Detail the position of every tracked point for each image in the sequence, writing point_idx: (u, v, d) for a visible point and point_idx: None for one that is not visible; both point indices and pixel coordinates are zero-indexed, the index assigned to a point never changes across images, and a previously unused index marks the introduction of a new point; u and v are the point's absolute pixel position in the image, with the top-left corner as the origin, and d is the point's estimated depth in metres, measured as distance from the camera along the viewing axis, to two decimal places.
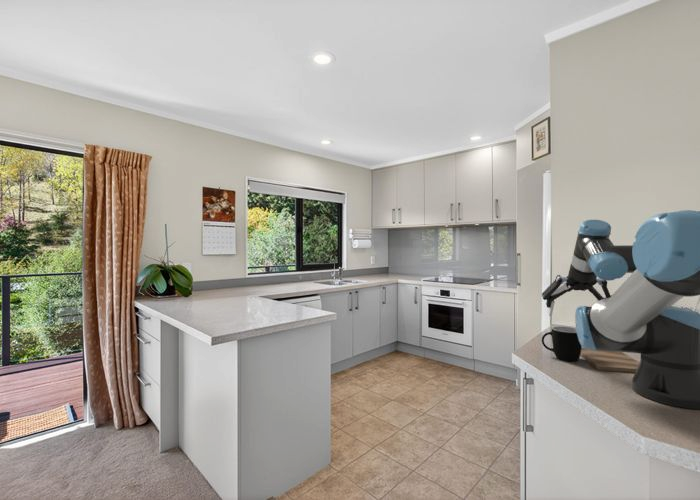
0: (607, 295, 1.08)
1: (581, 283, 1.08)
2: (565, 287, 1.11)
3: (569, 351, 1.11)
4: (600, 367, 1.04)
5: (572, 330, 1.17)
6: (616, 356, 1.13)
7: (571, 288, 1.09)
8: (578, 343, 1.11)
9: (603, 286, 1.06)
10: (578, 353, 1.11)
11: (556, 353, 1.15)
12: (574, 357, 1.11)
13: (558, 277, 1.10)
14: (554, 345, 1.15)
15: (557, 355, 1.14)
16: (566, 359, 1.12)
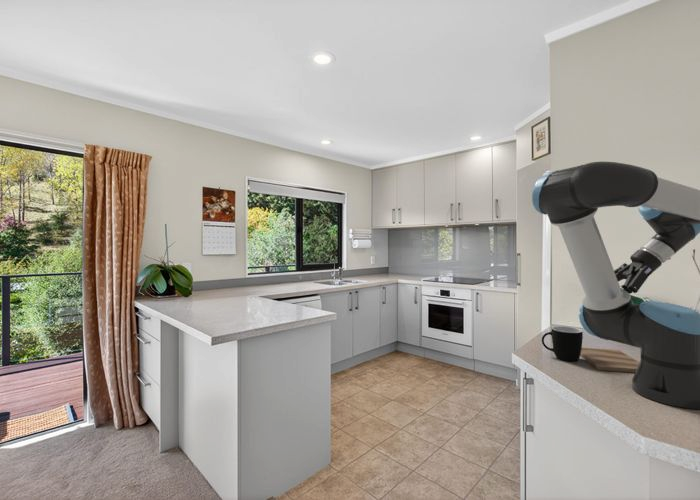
0: (633, 279, 1.03)
1: None
2: None
3: (569, 351, 1.11)
4: (600, 367, 1.04)
5: (572, 330, 1.17)
6: (616, 356, 1.13)
7: (621, 269, 1.13)
8: (578, 343, 1.11)
9: (640, 270, 1.04)
10: (578, 353, 1.11)
11: (556, 353, 1.15)
12: (574, 357, 1.11)
13: None
14: (554, 345, 1.15)
15: (557, 355, 1.14)
16: (566, 359, 1.12)
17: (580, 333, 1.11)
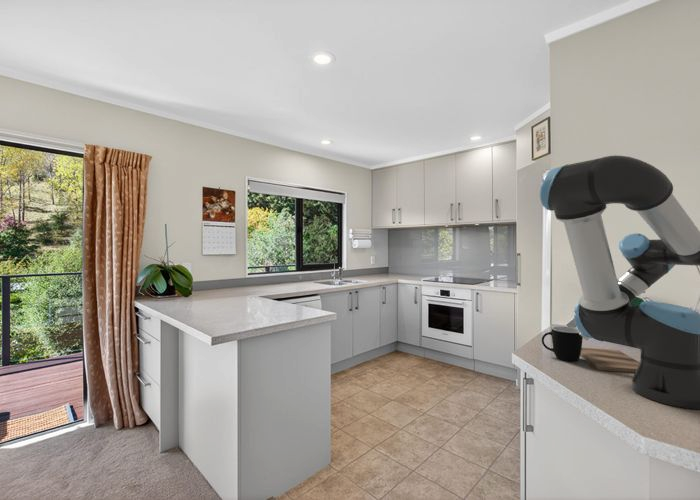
0: None
1: None
2: None
3: (569, 351, 1.11)
4: (600, 367, 1.04)
5: (572, 330, 1.17)
6: (616, 356, 1.13)
7: None
8: (579, 343, 1.11)
9: None
10: (578, 353, 1.11)
11: (556, 353, 1.15)
12: (574, 357, 1.11)
13: None
14: (554, 345, 1.15)
15: (557, 355, 1.14)
16: (566, 359, 1.12)
17: None
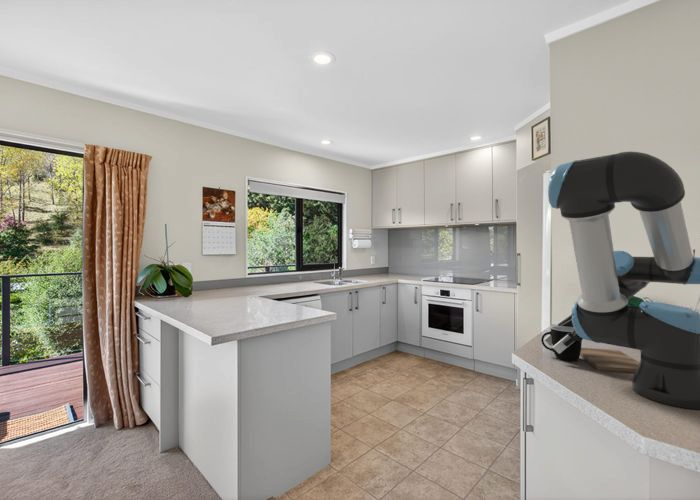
0: None
1: None
2: None
3: (569, 350, 1.11)
4: (600, 367, 1.04)
5: (571, 330, 1.17)
6: (616, 356, 1.13)
7: None
8: (578, 342, 1.11)
9: None
10: (578, 352, 1.11)
11: (556, 353, 1.15)
12: (574, 356, 1.11)
13: None
14: None
15: (557, 355, 1.14)
16: (566, 358, 1.12)
17: None
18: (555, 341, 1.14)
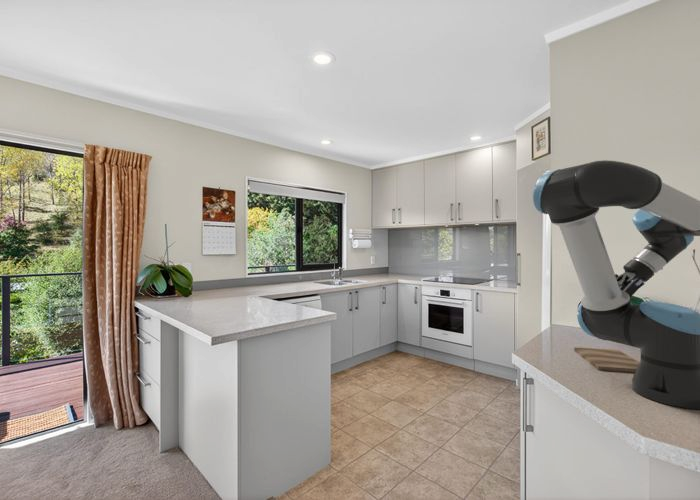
0: (622, 291, 1.05)
1: None
2: None
3: None
4: (600, 367, 1.04)
5: None
6: (616, 356, 1.13)
7: None
8: None
9: (631, 282, 1.05)
10: None
11: None
12: None
13: None
14: None
15: None
16: None
17: None
18: None
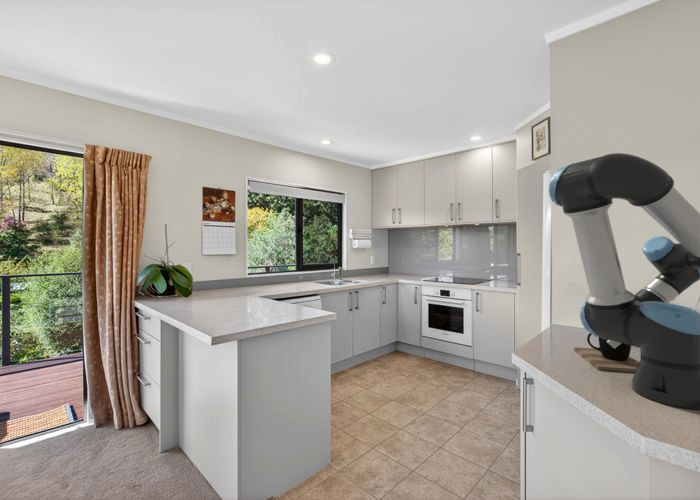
0: None
1: None
2: None
3: (619, 350, 1.07)
4: (600, 367, 1.04)
5: None
6: None
7: None
8: None
9: None
10: (628, 352, 1.07)
11: (604, 352, 1.11)
12: (624, 356, 1.07)
13: None
14: (601, 344, 1.11)
15: (605, 354, 1.11)
16: (615, 358, 1.08)
17: None
18: (603, 340, 1.10)
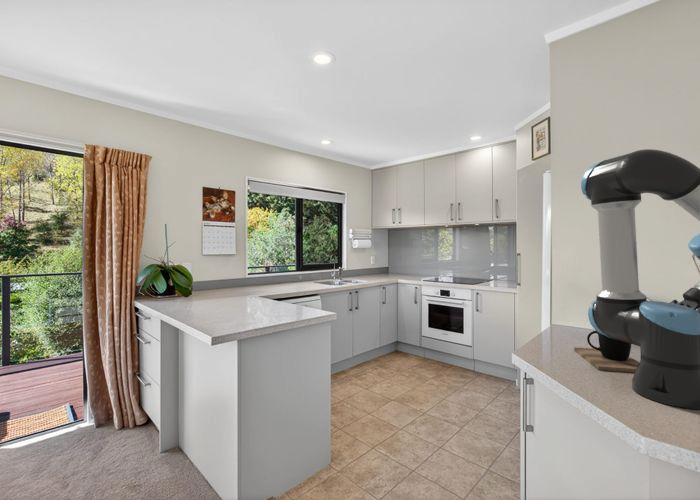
0: None
1: (685, 305, 1.06)
2: None
3: (619, 350, 1.07)
4: (600, 367, 1.04)
5: None
6: None
7: None
8: None
9: (696, 310, 1.00)
10: (628, 352, 1.07)
11: (604, 352, 1.11)
12: (624, 356, 1.07)
13: None
14: (601, 344, 1.11)
15: (605, 354, 1.11)
16: (615, 358, 1.08)
17: None
18: (603, 340, 1.10)
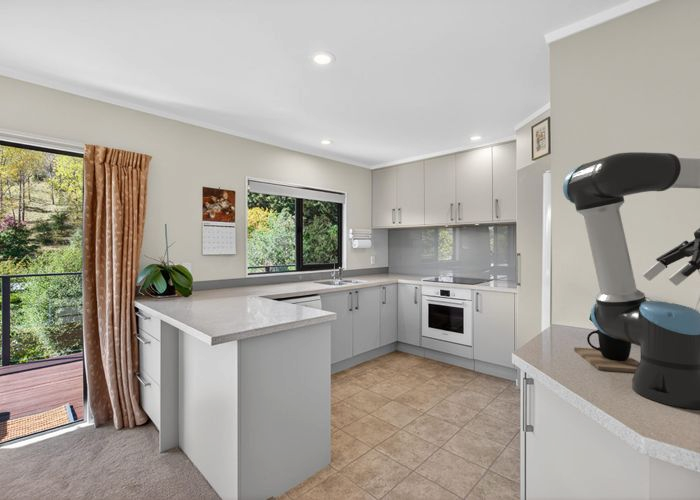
0: None
1: None
2: None
3: (619, 350, 1.07)
4: (600, 367, 1.04)
5: None
6: None
7: (684, 246, 1.06)
8: None
9: None
10: (628, 352, 1.07)
11: (604, 352, 1.11)
12: (624, 356, 1.07)
13: None
14: (601, 344, 1.11)
15: (605, 354, 1.11)
16: (615, 358, 1.08)
17: None
18: (603, 340, 1.10)
